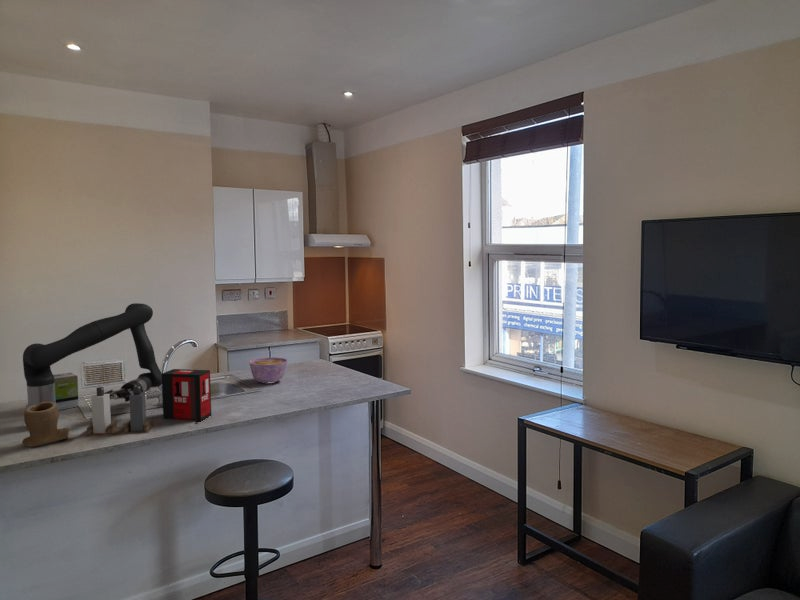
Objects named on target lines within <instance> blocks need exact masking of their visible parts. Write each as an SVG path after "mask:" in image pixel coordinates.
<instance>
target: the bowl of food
mask: <svg viewBox="0 0 800 600" xmlns="http://www.w3.org/2000/svg"><path fill="white" fill-rule="evenodd" d="M248 364H249V368H250V372H251V375H252V377H253V379H254V380H255V381H257V382H258V383H261V382H264V383H268V382H276V381H277V382H279V381H280V380H282V379H283V377H284V376H285V373H286V368H287V365H288V359H286V358H284V357H274V356H273V357H260V358H259V357H258V358H255V359H251V360H249V362H248ZM277 382H276V383H277Z"/></svg>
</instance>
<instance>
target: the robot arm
mask: <svg viewBox="0 0 800 600" xmlns="http://www.w3.org/2000/svg"><path fill="white" fill-rule="evenodd" d="M153 314H154V312H153V307H151V306H149V305H148V304H146V303H137V302H136V303H135V302H134V303H130V304H129V305H127V306H126V308H125V311H124V312H122V313H120V314H118V315H114V316H109V317H108V316H107V317H103V318H100V319H97V320H94V321H91V322H88V323H85V324H83V325H82V326H80V327H78V328H76V329H74V330H73V331H72V332H71V333H70V334H68V335H66V336H65V337H64V338H61V339H58V340H56V341H53V342H50V343H47V344H43V343H37V342H36V343H32V344H29V345H28V346H27V347H26V348H25V349H24V351H23V353H22V364H23V365H22V366H23V375H24V379H25V381H26V392H27V404H26V405H25V410H26V409H27V408H28V407H29V406H32V405H36V404H38V403H41V402H53V403H55V404H56V399H55V383H54V375H55V374H53V372H52V369H51V366H52V365H54V364H56V363H58V362H60V361H61V360H63V359H65V358H67V357H69V356H71V355H72V354H75V353H78V352H81V351H83V350H85V349H87V348H90V347H93V346H95V345H97V344H99V343H102V342H105V341H106V340H108V339H110V338H112V337H114V336H117V335H118V334H120V333H123V332H124V331H126V330H130V332H131V335H132V339H133V342H134V346H135V350H136V357H137V361H138V365H139V367H140V369H145V370H149V372H143V373H140V374H139V375H138V377H137V378H134V379H132V380H130V381H128V382H126V383H124V384H123V385H122V386H121V387H120V388H119V389H117V390H114V389H110V390H108V391H104V394H110V400H119V399H121V400H122V399H124V402H125V403H128V402H130V401H129V396H130V395H131V394H132V393H134V386H140V389H141V393H144V392H145V393H146V392H147V391H149V390H150V389H151V388H157V387H158V388H159V387H162V373H163V372H162V371H161V369H160V367H159V366H158V363H157V360H156V356H155V351H154V347H153V344H152V343H151V341H150V339H149V336H148V333H147V331H146V327H145V326H146V325H145V324H147V323H148V322H149V321H150V320H152V317H153ZM26 429H27V430H28V428H27V427H26Z"/></svg>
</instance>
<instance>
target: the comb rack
mask: <svg viewBox="0 0 800 600" xmlns="http://www.w3.org/2000/svg"><path fill="white" fill-rule="evenodd" d="M154 426H155V424H153V418H152V417H149V418H148V420H146V423H145V424H144V431H135V432H131V423H130V419H129V420H128V421H127V423H125V424H124V426H118V421H117V420H116V419H115V420H112V421H111V424H110V425H109V426H107V432H106V433H93V422H92V423H91V424H90V425H89V426H88V427H86V435H85V436H84V437H85V438H89V437H104V436H105V437H107V436H108V437H109V436H123V435H125V436H126V435H138V434H141V435H142V434H149V433H150V431H151V430H152V429H153V427H154Z"/></svg>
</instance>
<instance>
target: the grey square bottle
mask: <svg viewBox="0 0 800 600" xmlns="http://www.w3.org/2000/svg"><path fill="white" fill-rule="evenodd" d="M128 402H129V420H130V423H131V432H135V431H144V424H145V423H146V422H147V410H146V409H147V408H146V407H147V406H146V404H147V403H146V392H144V393H141V389H140V386H134V393H132V394H131V395H130V396H129V401H128Z"/></svg>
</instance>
